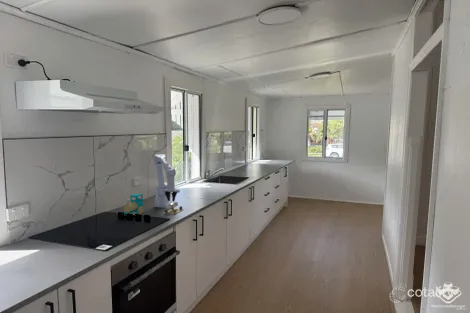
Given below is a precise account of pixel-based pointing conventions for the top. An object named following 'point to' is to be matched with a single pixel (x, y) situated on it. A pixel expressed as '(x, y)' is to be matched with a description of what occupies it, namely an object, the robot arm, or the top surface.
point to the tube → (171, 206)
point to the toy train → (134, 205)
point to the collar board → (173, 211)
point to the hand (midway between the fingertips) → (171, 201)
